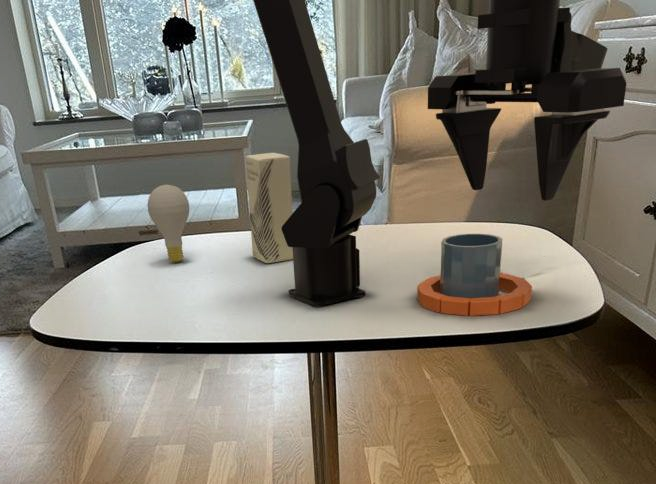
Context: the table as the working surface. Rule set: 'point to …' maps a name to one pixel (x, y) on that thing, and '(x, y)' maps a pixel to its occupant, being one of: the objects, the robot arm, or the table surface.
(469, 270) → the cup
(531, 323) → the table surface
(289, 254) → the box
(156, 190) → the light bulb
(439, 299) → the ring
